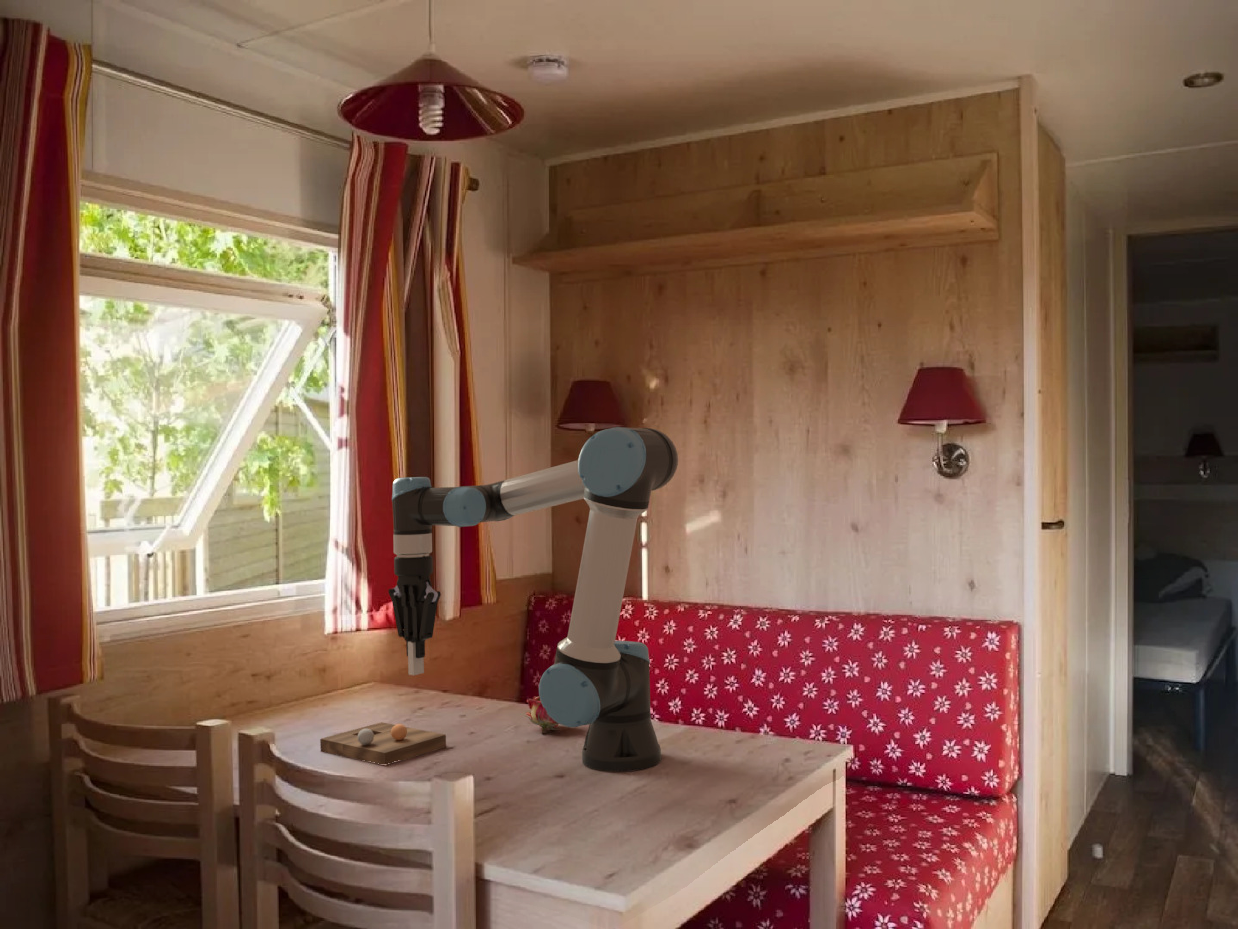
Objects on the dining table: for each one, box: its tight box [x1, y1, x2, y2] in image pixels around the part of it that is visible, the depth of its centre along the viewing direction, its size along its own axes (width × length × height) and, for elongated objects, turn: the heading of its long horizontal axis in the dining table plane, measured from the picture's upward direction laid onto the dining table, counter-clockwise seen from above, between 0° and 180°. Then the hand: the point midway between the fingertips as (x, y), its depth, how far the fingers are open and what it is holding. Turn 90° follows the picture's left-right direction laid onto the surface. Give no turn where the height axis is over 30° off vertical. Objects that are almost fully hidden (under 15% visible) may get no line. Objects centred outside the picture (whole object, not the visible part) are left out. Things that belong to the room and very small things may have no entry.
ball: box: [391, 723, 407, 740], centre depth 223 cm, size 3×3×3 cm
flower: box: [526, 695, 562, 735], centre depth 237 cm, size 10×9×8 cm
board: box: [319, 721, 447, 765], centre depth 226 cm, size 20×16×2 cm
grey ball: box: [358, 729, 374, 745], centre depth 220 cm, size 3×3×3 cm
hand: (416, 673), depth 219 cm, fingers closed
